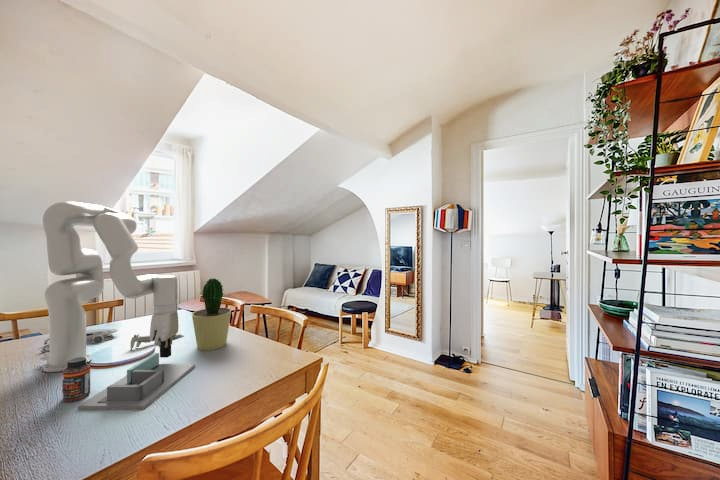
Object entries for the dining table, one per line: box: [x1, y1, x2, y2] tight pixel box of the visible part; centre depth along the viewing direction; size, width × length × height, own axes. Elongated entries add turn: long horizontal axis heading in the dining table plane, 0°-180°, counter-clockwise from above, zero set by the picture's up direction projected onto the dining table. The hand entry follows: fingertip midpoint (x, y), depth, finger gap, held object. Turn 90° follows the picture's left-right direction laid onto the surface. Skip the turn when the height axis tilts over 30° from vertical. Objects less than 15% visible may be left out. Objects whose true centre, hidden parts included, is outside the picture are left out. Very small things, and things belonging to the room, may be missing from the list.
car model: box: [40, 328, 118, 353], centre depth 126 cm, size 11×24×5 cm, turn 134°
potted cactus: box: [191, 277, 232, 351], centre depth 125 cm, size 15×15×30 cm
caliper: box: [129, 333, 184, 350], centre depth 127 cm, size 20×1×6 cm, turn 145°
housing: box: [77, 363, 196, 410], centre depth 92 cm, size 18×26×5 cm
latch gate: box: [126, 352, 160, 383], centre depth 97 cm, size 1×13×4 cm, turn 1°
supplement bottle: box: [61, 357, 91, 403], centre depth 84 cm, size 6×6×11 cm
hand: (165, 356), depth 108 cm, fingers closed
